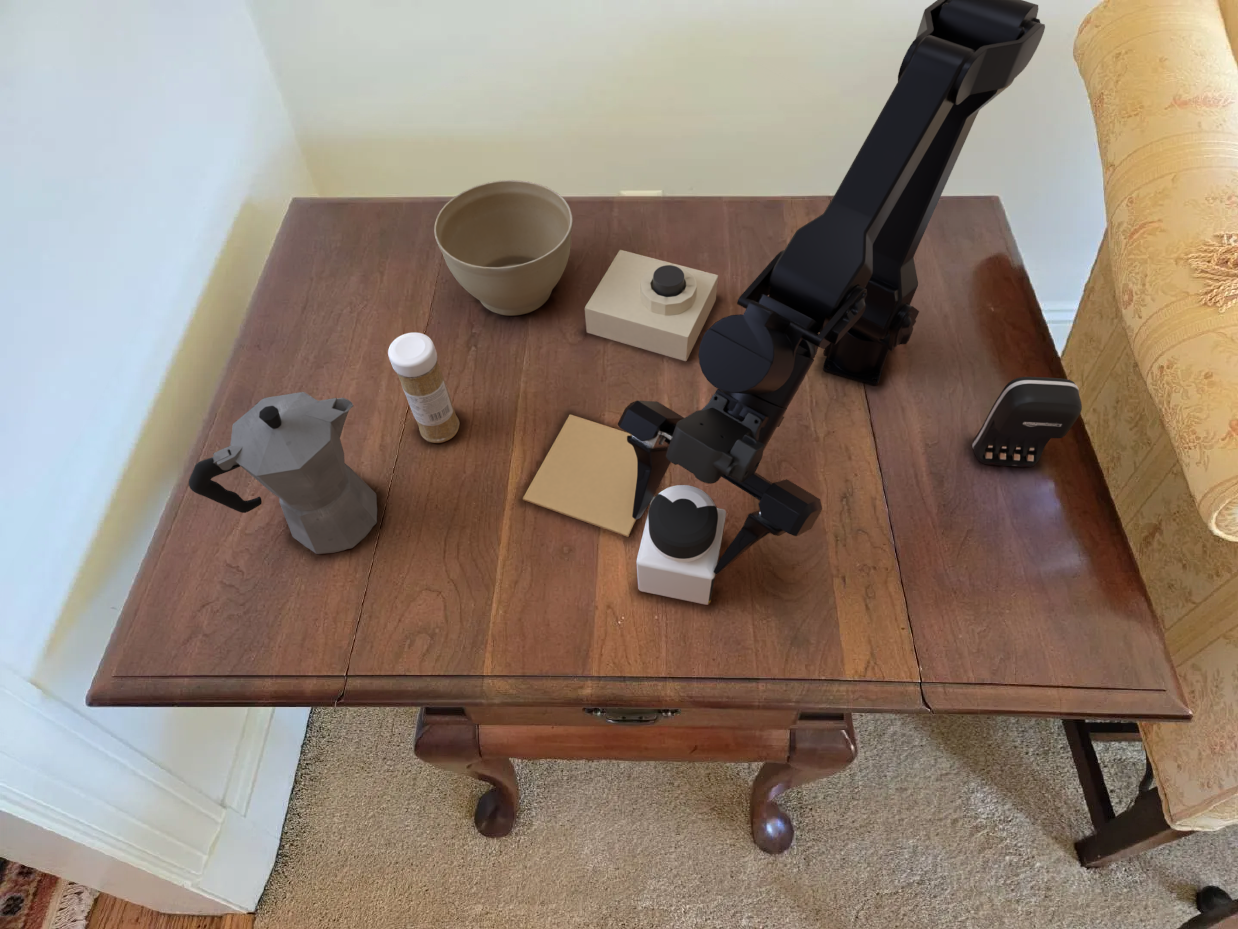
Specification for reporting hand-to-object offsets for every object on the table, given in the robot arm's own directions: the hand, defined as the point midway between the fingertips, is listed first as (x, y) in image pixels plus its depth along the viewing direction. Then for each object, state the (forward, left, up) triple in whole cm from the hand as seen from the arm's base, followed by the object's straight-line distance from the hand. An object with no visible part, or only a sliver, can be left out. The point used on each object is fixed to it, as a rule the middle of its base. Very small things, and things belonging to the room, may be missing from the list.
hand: (674, 544), depth 71 cm
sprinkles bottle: (+31, -8, -7) cm, 33 cm away
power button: (+13, -33, -2) cm, 35 cm away
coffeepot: (+36, +7, -7) cm, 37 cm away
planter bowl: (+33, -31, -7) cm, 46 cm away
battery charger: (-28, -27, -7) cm, 40 cm away
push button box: (+15, -33, -7) cm, 37 cm away
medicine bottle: (0, -2, -7) cm, 7 cm away
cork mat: (+12, -9, -7) cm, 16 cm away
